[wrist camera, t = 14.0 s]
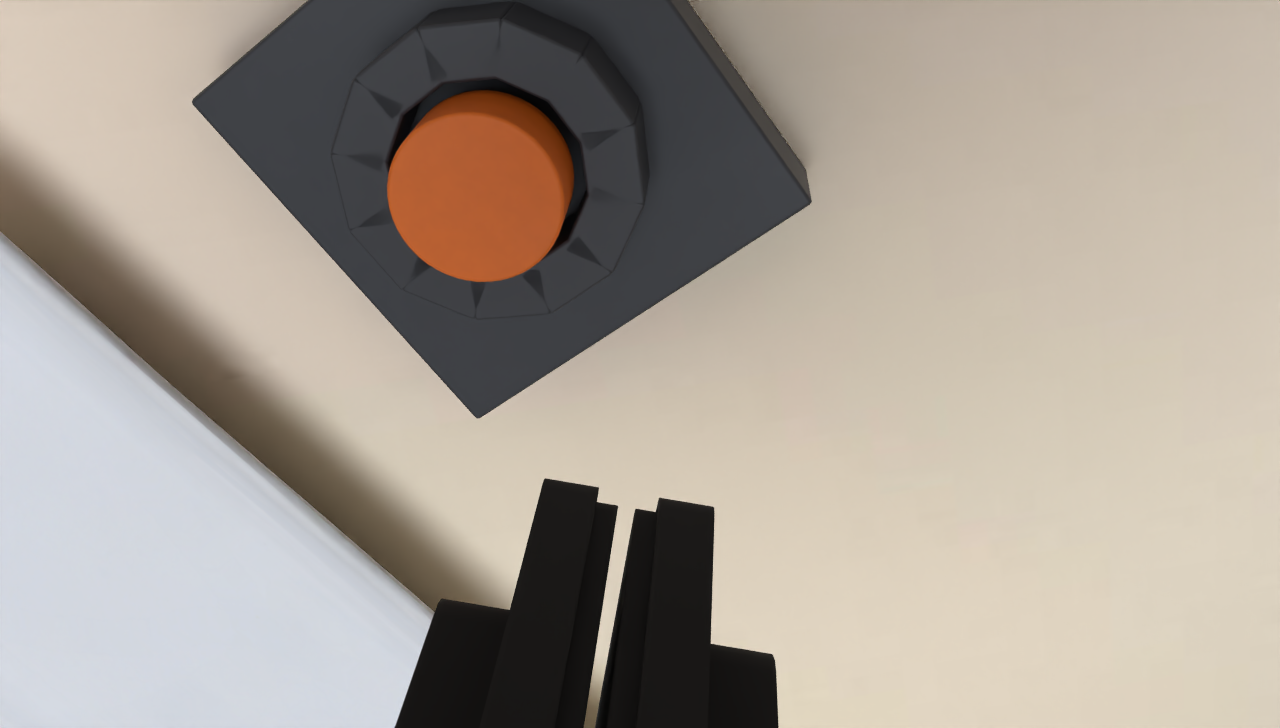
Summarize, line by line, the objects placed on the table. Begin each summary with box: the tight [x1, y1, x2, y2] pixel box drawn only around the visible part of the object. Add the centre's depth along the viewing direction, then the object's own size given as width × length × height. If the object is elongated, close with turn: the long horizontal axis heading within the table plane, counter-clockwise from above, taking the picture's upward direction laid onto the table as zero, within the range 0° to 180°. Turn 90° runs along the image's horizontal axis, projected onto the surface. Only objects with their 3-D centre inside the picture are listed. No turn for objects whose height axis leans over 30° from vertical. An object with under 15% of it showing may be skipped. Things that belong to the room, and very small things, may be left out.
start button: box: [387, 90, 574, 282], centre depth 24 cm, size 4×4×2 cm
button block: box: [192, 0, 812, 418], centre depth 26 cm, size 10×10×4 cm
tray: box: [0, 232, 435, 728], centre depth 35 cm, size 17×32×4 cm, turn 41°
